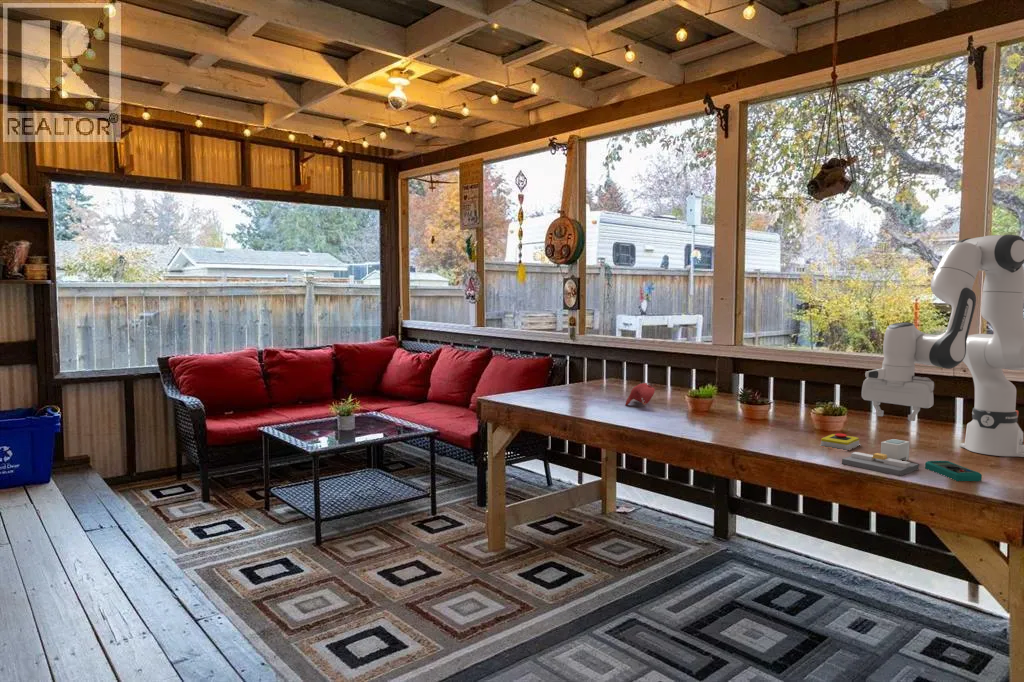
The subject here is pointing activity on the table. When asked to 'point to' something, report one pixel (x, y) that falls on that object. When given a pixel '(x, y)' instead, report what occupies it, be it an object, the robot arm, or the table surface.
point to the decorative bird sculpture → (641, 393)
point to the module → (896, 449)
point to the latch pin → (880, 456)
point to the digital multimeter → (953, 471)
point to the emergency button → (840, 441)
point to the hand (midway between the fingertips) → (895, 418)
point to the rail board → (880, 464)
